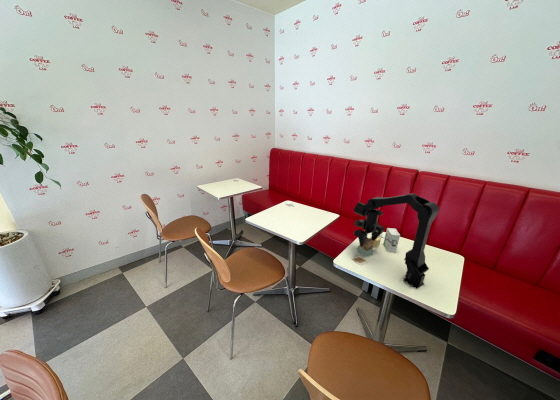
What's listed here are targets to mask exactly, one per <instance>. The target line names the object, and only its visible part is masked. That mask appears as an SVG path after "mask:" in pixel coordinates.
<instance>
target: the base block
mask: <svg viewBox="0 0 560 400" xmlns="http://www.w3.org/2000/svg"><path fill="white" fill-rule="evenodd" d="M374 250H375V249H374V248H373V249H371V250H369V251H366V250H364V249H362V248H361V247H360V245H358V246H357V250H356V253H359V254H360V255H361V257H362V256H363V257H364V258H367V257H370V256H373V254H374V252H375V251H374Z"/></svg>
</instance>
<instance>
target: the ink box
mask: <svg viewBox="0 0 560 400" xmlns="http://www.w3.org/2000/svg"><path fill="white" fill-rule="evenodd" d="M400 237H401V234H400V233H399V232H398V230H397V228H390V227H387V228H386V232H385V235H384V240H383V243H382V244H383V247H384V248H385V251H386V252H387V253H396V252H397V248H398V246H399V240H400Z"/></svg>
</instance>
